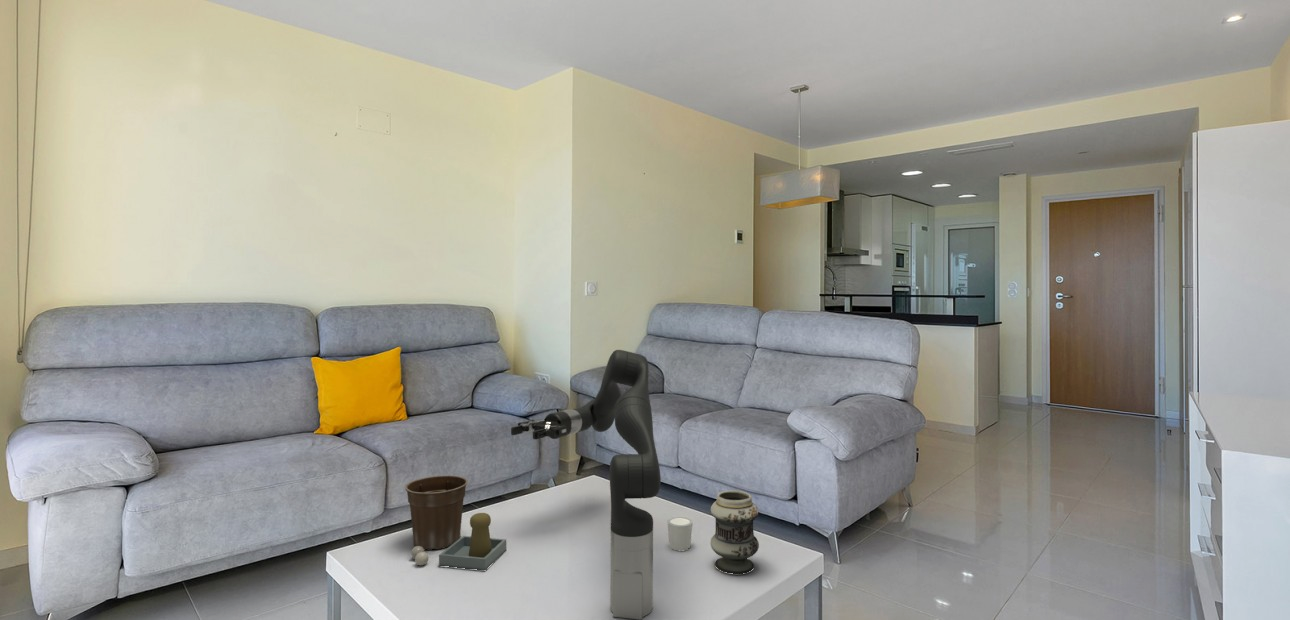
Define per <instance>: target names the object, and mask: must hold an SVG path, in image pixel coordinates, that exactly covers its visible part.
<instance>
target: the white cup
mask: <svg viewBox="0 0 1290 620" xmlns="http://www.w3.org/2000/svg"><path fill="white" fill-rule="evenodd" d="M667 530H668V531H667V532H668V533H667V534H668V543H669V546H668V547H669V549H670V550H672V549H674V550H673V551H675V550H678V551H677V552H680V551H679V550H686V551H688V550H689V549H688V548H690V549H691V544H692V542H691V540H692V533H693V532H692V531H693V520H692V519H690V518H688V517H683V516H676V517H671V518H669V519H667ZM687 549H688V550H687Z"/></svg>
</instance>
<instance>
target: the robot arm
mask: <svg viewBox="0 0 1290 620" xmlns="http://www.w3.org/2000/svg"><path fill="white" fill-rule="evenodd" d="M618 384H620V385H623V386H628V387H630V388H629V389H627V390H626V391H625V392H623V393H621V390H620V387H619V385H618ZM652 413H653V412H652V407H651V400H650V391H649V362H648V359H647V357H646V356H644V355H642V354H641V353H640V354H639V353H636V352H632V351H627V350H623V349H616V350H614V351H612V353H611V354H610V357H609V358H608V361H607V363H606V367H605V370H604V372H603V377H602V381H601V383H600V388H599V390H598V392H597V394H596V396H595V397H594V398H593V399H592V400H590V401H588V402H587V403H586V404H584V405H583V406H580V407H577V408H573V409H564V410H560V411H555V412H550V413H549V414H547V415H546V416H545V418H544V419H543V420H541V419H540V420H537V421H536V420H534V419H531V420H526V421H522V422H518V423H517V425H514V426H512V427H511V428H510V435H511V436H516V435H521V434H529V435H532V439H533V440H539V439H542V438H543V439H548V438H550V439H552V440H558V439H561V438H564V437H568V436H572V435H575V434H576V433H580V432H583V431H586V430H589V429H590V428H591V427H592V429H593V430H594V431H596V432H597V433H598V432H599V433H603V432H604V433H605V432H606V431H607V430H609V429H610V428H611V427H612V426H613V424H614V427H615V430H616V432H617V433H618V434H619V437H621V438H622V439H623V441H625V442H626V444H628V445H629V446H631V448H632V449H634V450H635V451H636V453H637V454H636V453H635V454H634V453H633V454H631V453H630V454H629V453H627V454H621V453H620V454H616V455H613V456H612V458H611V460H610V463H609V489H610V490H609V491H610V551H609V552H610V554H609V558H610V567H609V568H610V570H609V571H610V572H609V574H610V577H609V581H610V582H609V590H610V591H609V593H610V599H609V600H610V601H609V602H610V603H609V608H610V612H611V613H612V617H614V618H623V619H633V620H642V619H643V617H645V616H648V615H649V614H651V612H652V611H653V608H654V607H653V606H654V605H653V604H654V603H653V602H654V589H653V588H654V582H653V581H654V579H653V578H654V566H653V565H654V519H653V515H652V514H651V513H649V512H648V511H646V510H644V509H642V508H639V507H637V506H635V505H632V504H630V503H629V502H628V501H626V500H627V499H630V500H631V499H651V498H654V497H656V496H657V495H658V494H659V492H660V489H661V483H662V482H661V480H662V479H661V469H660V463H659V459H658V454H657V449H656V445H655V444H656V443H655V438H654V427H653V423H654V422H653V414H652Z"/></svg>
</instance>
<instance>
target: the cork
mask: <svg viewBox="0 0 1290 620" xmlns="http://www.w3.org/2000/svg"><path fill="white" fill-rule="evenodd" d="M491 523H492V519H491V516H490V514H489V513H486V512H478V513H475V514H473V515H472V516H471V517H470V520H469V525H470V528H471V535H470V536H471V541H470V549H469V556H470V557H480V558H484V557H485V556H486V555H488V554H489V553H490V552H491V551H492V548H491V541H490V538H491V535H490V534H491V533H490V525H491Z"/></svg>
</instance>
